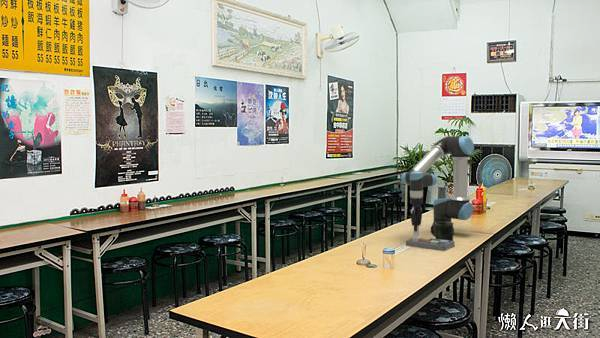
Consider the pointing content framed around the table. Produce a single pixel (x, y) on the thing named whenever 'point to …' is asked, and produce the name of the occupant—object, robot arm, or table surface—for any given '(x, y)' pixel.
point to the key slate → (443, 242)
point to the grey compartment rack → (429, 245)
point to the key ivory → (416, 238)
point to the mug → (443, 230)
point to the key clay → (425, 239)
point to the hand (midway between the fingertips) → (416, 236)
